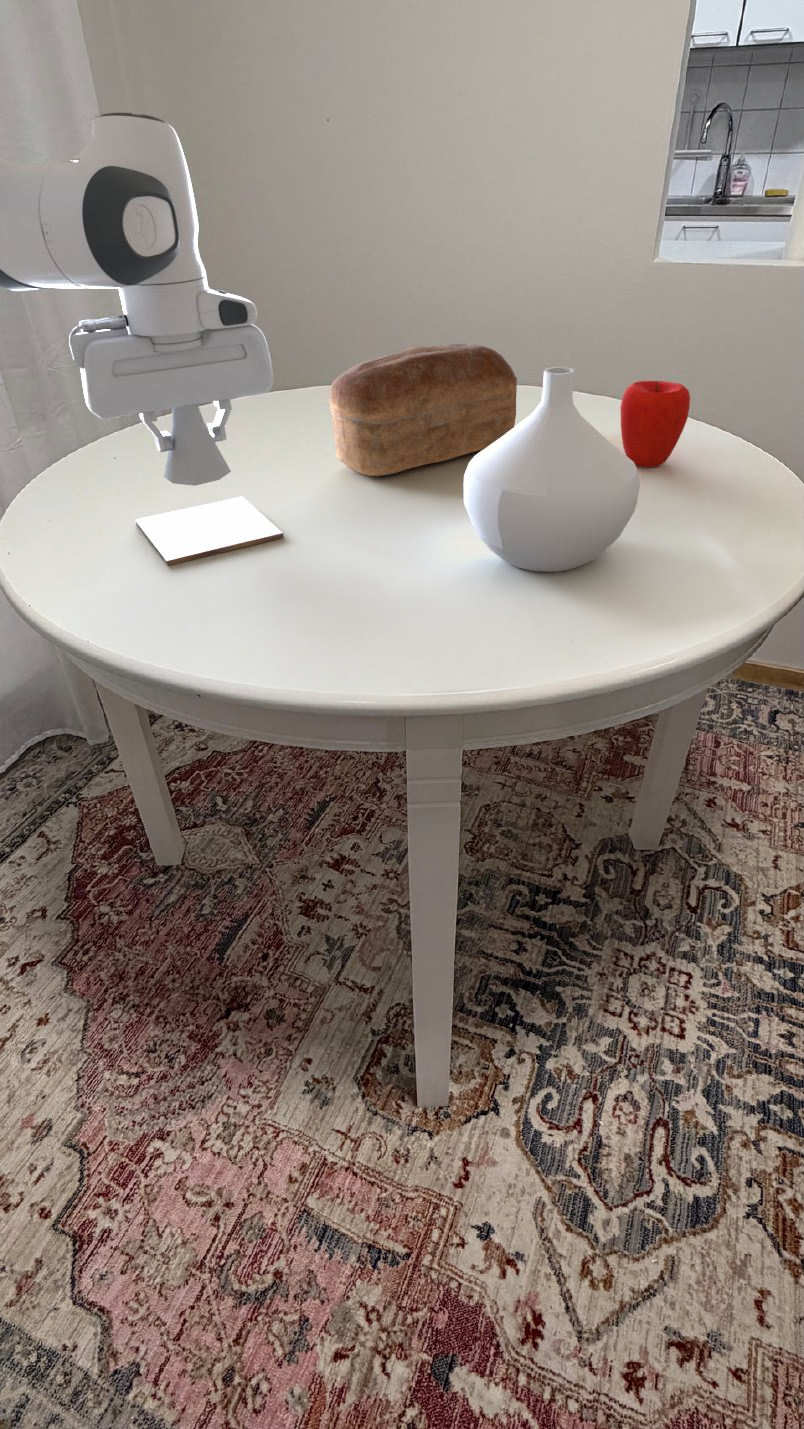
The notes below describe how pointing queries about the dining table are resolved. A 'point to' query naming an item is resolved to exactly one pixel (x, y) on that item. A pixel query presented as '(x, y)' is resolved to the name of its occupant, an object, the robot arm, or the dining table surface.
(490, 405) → the bread
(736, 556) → the dining table surface
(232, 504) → the coaster
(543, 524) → the vase
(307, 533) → the dining table surface
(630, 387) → the apple
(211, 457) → the flask
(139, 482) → the dining table surface
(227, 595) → the dining table surface
